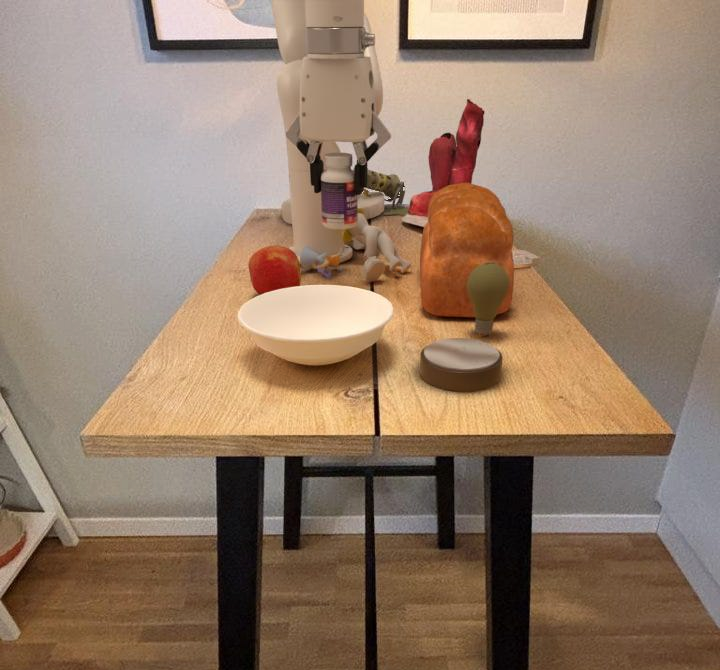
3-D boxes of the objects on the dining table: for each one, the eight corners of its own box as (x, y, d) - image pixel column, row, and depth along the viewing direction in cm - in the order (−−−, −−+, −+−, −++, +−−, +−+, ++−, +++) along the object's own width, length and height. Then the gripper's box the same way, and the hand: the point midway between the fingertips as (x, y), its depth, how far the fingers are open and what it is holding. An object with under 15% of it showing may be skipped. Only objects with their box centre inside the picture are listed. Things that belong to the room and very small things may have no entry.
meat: (454, 242, 128) (418, 107, 122) (399, 264, 150) (366, 150, 143) (543, 214, 136) (514, 85, 129) (478, 239, 157) (450, 129, 151)
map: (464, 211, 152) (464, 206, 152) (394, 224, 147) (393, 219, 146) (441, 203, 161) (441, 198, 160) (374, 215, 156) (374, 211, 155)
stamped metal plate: (538, 265, 118) (540, 257, 117) (504, 270, 116) (505, 261, 115) (516, 253, 124) (517, 245, 123) (483, 257, 122) (484, 249, 122)
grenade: (354, 160, 148) (397, 173, 158) (344, 190, 151) (387, 201, 162) (374, 171, 144) (417, 184, 155) (363, 202, 147) (406, 212, 158)
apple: (298, 306, 102) (295, 254, 98) (245, 306, 103) (239, 254, 98) (305, 289, 109) (302, 240, 104) (255, 289, 109) (250, 240, 105)
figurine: (371, 303, 117) (324, 248, 122) (412, 274, 117) (364, 220, 122) (363, 271, 107) (313, 212, 112) (408, 239, 108) (357, 182, 112)
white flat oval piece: (257, 219, 150) (256, 206, 148) (334, 196, 168) (333, 184, 166) (334, 231, 138) (333, 217, 136) (407, 205, 156) (407, 192, 155)
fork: (325, 218, 138) (326, 232, 139) (366, 241, 122) (366, 256, 123) (338, 217, 138) (338, 231, 140) (380, 240, 123) (380, 255, 124)
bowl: (228, 340, 91) (222, 295, 88) (360, 319, 97) (359, 276, 94) (265, 402, 76) (259, 350, 73) (418, 372, 82) (420, 324, 78)
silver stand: (425, 354, 87) (426, 334, 85) (502, 360, 85) (504, 339, 83) (414, 387, 79) (415, 366, 77) (498, 395, 77) (501, 373, 75)
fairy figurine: (294, 239, 122) (352, 237, 117) (298, 265, 124) (355, 264, 119) (261, 256, 113) (322, 254, 108) (267, 283, 116) (327, 283, 111)
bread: (418, 319, 96) (423, 208, 88) (419, 265, 118) (422, 172, 109) (514, 321, 95) (528, 209, 87) (497, 266, 117) (506, 172, 108)
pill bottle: (353, 231, 96) (352, 158, 91) (318, 229, 97) (315, 157, 92) (361, 221, 101) (360, 151, 95) (327, 219, 102) (324, 150, 96)
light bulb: (479, 324, 95) (485, 254, 89) (511, 334, 92) (520, 262, 86) (454, 335, 92) (460, 263, 86) (487, 346, 89) (495, 272, 83)
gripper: (404, 43, 87) (400, 188, 98) (282, 43, 90) (291, 184, 101) (395, 46, 81) (391, 200, 92) (264, 45, 84) (275, 195, 95)
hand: (339, 190), depth 96 cm, fingers closed on pill bottle, 5 cm apart
